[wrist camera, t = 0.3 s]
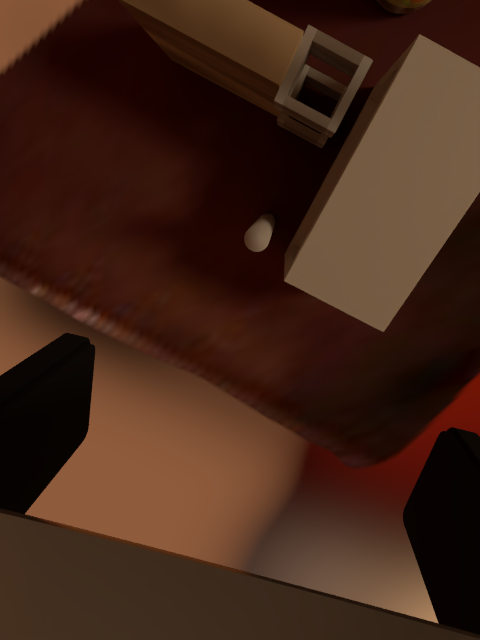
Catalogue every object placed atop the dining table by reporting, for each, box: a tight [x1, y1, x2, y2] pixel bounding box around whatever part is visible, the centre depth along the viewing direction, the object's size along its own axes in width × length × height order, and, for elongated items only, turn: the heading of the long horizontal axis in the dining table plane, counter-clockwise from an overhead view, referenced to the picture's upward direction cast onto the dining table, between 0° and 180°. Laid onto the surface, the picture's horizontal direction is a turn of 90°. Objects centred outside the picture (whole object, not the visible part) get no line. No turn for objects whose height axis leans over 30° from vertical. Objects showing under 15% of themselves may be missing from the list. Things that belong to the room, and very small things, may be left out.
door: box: [118, 0, 373, 148], centre depth 28 cm, size 4×15×12 cm, turn 64°
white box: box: [244, 34, 480, 332], centre depth 29 cm, size 16×12×14 cm
